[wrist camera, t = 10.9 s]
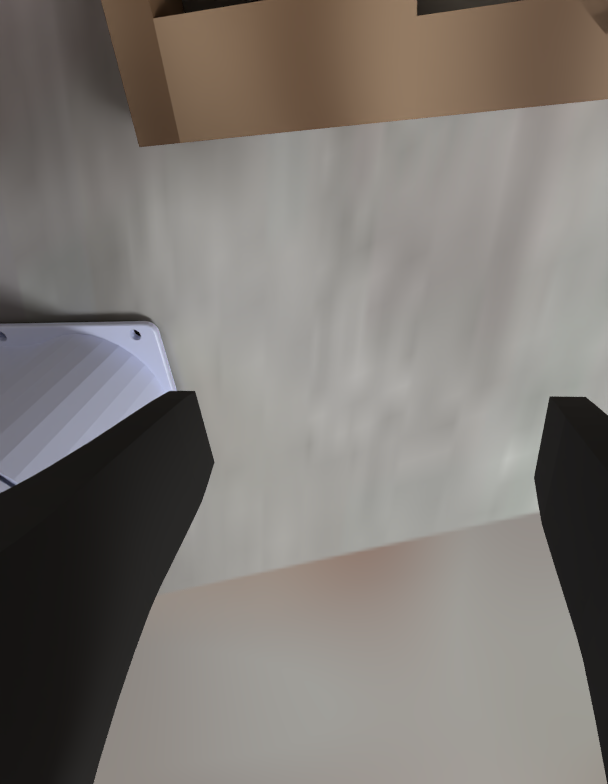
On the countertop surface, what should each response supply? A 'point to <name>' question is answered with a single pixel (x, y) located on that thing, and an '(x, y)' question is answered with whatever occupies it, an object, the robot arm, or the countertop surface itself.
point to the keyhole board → (347, 63)
